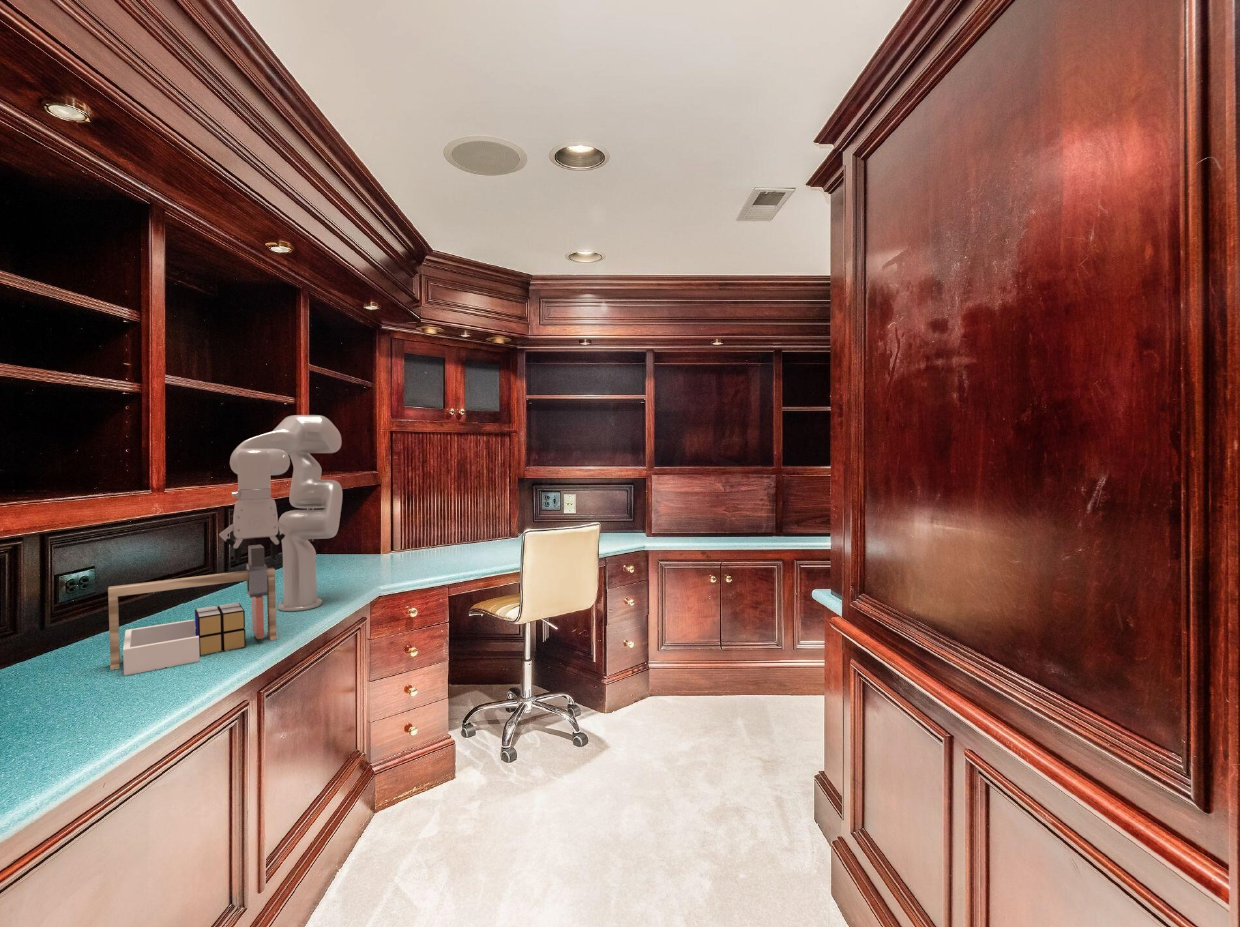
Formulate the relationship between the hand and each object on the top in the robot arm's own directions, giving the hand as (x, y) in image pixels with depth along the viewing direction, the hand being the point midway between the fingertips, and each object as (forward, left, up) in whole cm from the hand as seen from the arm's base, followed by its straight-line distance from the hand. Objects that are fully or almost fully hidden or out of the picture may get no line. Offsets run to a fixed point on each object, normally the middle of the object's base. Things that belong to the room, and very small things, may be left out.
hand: (256, 560), depth 158 cm
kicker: (0, 0, -20) cm, 20 cm away
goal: (0, -20, -22) cm, 30 cm away
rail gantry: (0, -13, -22) cm, 25 cm away
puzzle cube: (0, -8, -22) cm, 24 cm away
